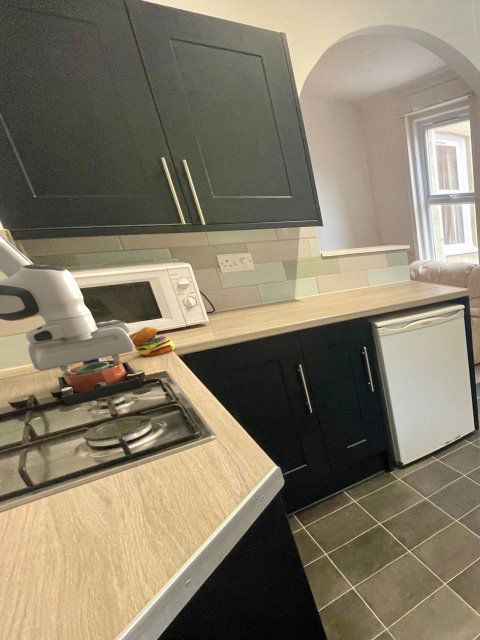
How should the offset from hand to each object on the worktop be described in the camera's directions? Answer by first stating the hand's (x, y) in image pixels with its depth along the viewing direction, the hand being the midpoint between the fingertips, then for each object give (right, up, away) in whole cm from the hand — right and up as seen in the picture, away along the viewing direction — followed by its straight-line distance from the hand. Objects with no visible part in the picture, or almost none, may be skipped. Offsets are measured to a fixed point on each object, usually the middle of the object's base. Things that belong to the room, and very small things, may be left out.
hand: (96, 375), depth 116 cm
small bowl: (0, -2, +1) cm, 2 cm away
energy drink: (-15, +2, +15) cm, 21 cm away
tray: (0, -3, +1) cm, 3 cm away
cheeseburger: (-7, +8, +27) cm, 29 cm away
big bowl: (0, -3, +1) cm, 3 cm away
